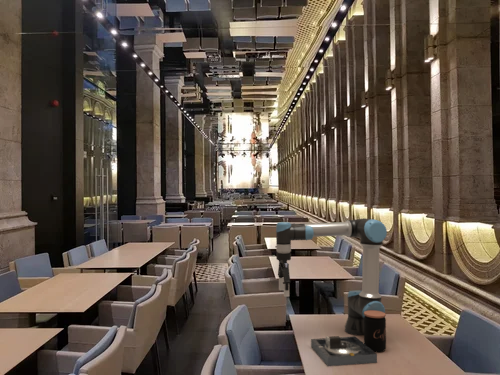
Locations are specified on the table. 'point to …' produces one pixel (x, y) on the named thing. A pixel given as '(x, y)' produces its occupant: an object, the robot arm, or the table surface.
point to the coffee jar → (375, 330)
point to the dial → (340, 346)
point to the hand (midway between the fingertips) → (283, 293)
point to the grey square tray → (347, 359)
